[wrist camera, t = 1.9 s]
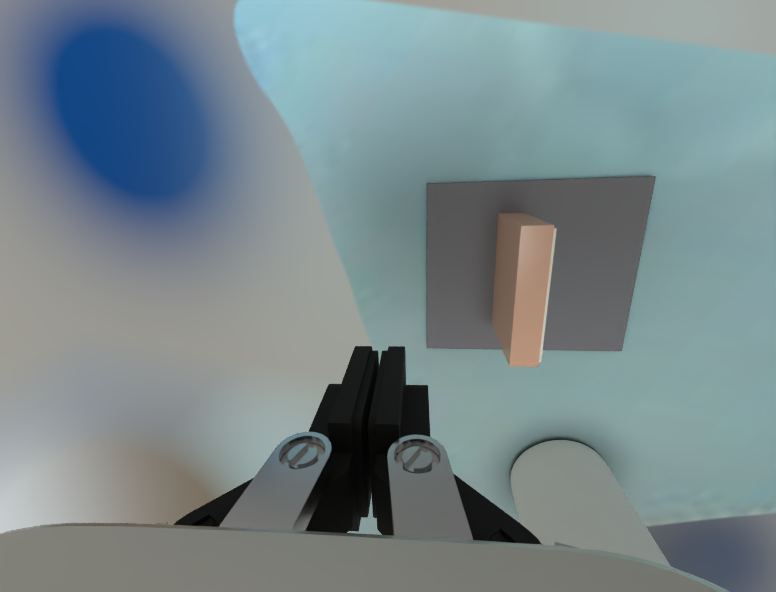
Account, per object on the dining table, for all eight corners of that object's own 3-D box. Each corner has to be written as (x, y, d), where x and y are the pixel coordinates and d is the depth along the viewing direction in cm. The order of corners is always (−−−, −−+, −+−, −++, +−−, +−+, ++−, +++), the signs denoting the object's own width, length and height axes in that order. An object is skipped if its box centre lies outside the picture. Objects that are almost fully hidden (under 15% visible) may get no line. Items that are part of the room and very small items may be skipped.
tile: (526, 212, 24) (558, 225, 18) (516, 324, 26) (541, 366, 20) (498, 213, 24) (521, 225, 18) (491, 324, 26) (509, 366, 21)
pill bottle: (531, 520, 32) (612, 789, 18) (492, 456, 31) (550, 699, 16) (620, 493, 30) (788, 769, 16) (585, 422, 29) (741, 665, 14)
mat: (651, 176, 22) (655, 176, 22) (618, 348, 26) (621, 351, 26) (426, 183, 24) (427, 183, 24) (426, 345, 28) (427, 348, 27)
